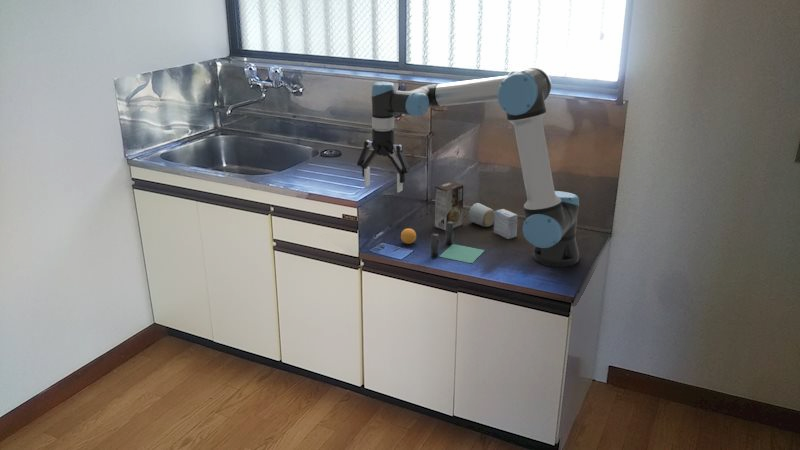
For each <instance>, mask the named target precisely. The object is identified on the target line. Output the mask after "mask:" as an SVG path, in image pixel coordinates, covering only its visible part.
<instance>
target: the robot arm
mask: <svg viewBox="0 0 800 450" xmlns="http://www.w3.org/2000/svg"><path fill="white" fill-rule="evenodd" d="M551 89H552V81H551V78H550V76H549V75H548V73H547V72H546V71H544V70H543V69H542V68H539V67H536V66H535V67H534V66H532V67H530V66H529V67H526V68H524V69H519V70H515V71H510V72H509V73H508V74H507V75H500V76H494V77H485V78H476V79H469V80H468V79H467V80H461V81H453V82H452V81H451V82H445V83H438V84H435V83H428V84H424V85H423V86H419V87H418V88H414V89H411V90H409V91H408V90H398V89H396V88H395V84H394V83H393V82H391V81H377V82H374V83H373V84H372V86H371V96H370V97H371V110H372V111H371V112H372V113H371V128H372V130H371V140H372V141H371V140H370V139H366V140H365V141H364V142H363V147H362V151H361V153H360V156H359V158H358V161H357V164H356V165H357V166H358V167H361V169H362V170H361V173H362V174H361V175H362V178H363V177H364V183H363V185H364V188H368V186H371V167H369V165H370V164H371V163H372V161H373V160H374V159H375V157H377V156H383V157H387V158H388V159H390V161H391V163H392V164H393V166H394V167H395V169H396V170H397V172H398V173H397V174H396V179H397V180H396V193H400V192H402V191H403V189H404V188H403V184H404V183H405V181H406V174H408V173H410V172H411V169H410V165H409V163H408V160H407V158H406V156H405V152H404V149H403V148H404V147H403V144H402V143H399V144H395V129H394V128H395V114H401V115H405V116H406V115H407V116H412V117H423V116H425V115H426V113H427V112H428V110H429V109H430V108H439V107H446V106H447V107H448V106H456V105H457V106H458V105H467V104H475V103H487V102H496V101H497V102H498V104H499V106H500V108H501V109H502V110H503V111H504V112H505V114H506V119H507V121H508V122H509V123H510V124H512V126H513V128H514V133H515V140H516V145H517V149H518V150H517V151H518V156H519V161H520V167H521V173H522V177H523V182H524V183H523V185H524V187H525V188H524V189H525V195H526V198H527V200H526V202H525V203H524V204H523V209H524V215H525V219H524V222H523V225H522V234H523V236H524V238H525V240H526V241H527V242H528V243H529V244H531V245H532V246H534V247H533V249H532V250H533V252H532V258H533V260H535V262H537V263H540V264H542V265H544V266H548V267H552V268H553V267H554V268H564V267H565V268H566V267H573V266H575V265H577V264H578V262H579V260H580V252H579V247H578V243H577V240H576V235H577V224H578V215H579V207H580V198H579V196H578V195H577V194H574V193H572V192H568V191H561V190H560V191H559V190H555V185H554V180H553V174H552V169H551V168H552V167H551V162H550V156H549V152H548V145H547V140H546V139H547V138H546V134H545V129H544V122H543V118H544V117H545V115H546V114H547V108H546V103H545V100H547V99H548V97H549V95H550V94H551ZM371 147H372V148H373V149H372V151H371V152H370V154H369V156H368V157H367V155H368V153H369V151H370V149H371ZM394 150H395V151H394ZM395 152H396V153H395Z"/></svg>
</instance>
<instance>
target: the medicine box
mask: <svg viewBox="0 0 800 450" xmlns="http://www.w3.org/2000/svg"><path fill="white" fill-rule="evenodd" d="M494 212H495V215H494V223H493V233H494V234H496V235H498V236H501V237H502V238H505V239H507V240H509V239H513V238H516V237H517V236H518V235H517V232H518V230H517V229H518V216H519V215H518V214H517V213H515V212H512V211H510V210H507V209H505V208H502V209H497V210H495V211H494Z"/></svg>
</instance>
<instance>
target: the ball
mask: <svg viewBox="0 0 800 450" xmlns="http://www.w3.org/2000/svg"><path fill="white" fill-rule="evenodd" d="M400 239H401V241H402V242H403V243H404V244H409V245H410V244H413V243H414V242H415V241H416V239H417V233H416V231H415V230H414V229H413V228H405V229H403V230H402V231H401V233H400Z"/></svg>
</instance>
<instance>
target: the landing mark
mask: <svg viewBox="0 0 800 450" xmlns="http://www.w3.org/2000/svg"><path fill="white" fill-rule="evenodd" d="M485 251H486V250H485V249H481V248H475V247H471V246H470V247H469V246H465V245H460V244H456V243H453V244H452V245H449V247H448V248H447V249H445V250H444V251H443V252H442V253H441V254H440V255H438V258H441V257H442V258H441V259H445V260H452V261H456V260H457V262H461V261H462V262H461V263H466V262H467V263H466V264H471V263H472V264H473V263H475V261H476V260H478V258H479V257H480V256H482V254H483V253H484V252H485Z"/></svg>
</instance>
